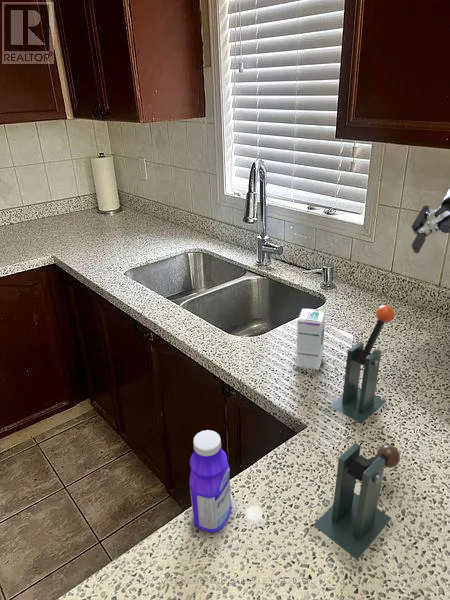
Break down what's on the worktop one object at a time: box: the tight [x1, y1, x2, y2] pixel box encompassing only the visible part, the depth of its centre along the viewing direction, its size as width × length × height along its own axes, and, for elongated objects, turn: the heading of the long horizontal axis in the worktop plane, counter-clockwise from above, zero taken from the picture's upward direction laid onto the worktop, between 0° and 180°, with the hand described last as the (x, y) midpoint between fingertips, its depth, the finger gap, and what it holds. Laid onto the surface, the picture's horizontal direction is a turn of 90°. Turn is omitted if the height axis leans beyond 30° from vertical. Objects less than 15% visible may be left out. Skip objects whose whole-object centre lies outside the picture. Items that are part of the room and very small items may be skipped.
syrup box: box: [295, 308, 326, 371], centre depth 108 cm, size 6×6×14 cm
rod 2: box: [347, 444, 401, 482], centre depth 69 cm, size 13×4×4 cm, turn 134°
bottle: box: [188, 429, 232, 534], centre depth 70 cm, size 7×6×17 cm
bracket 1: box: [328, 341, 387, 425], centre depth 93 cm, size 10×8×15 cm
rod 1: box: [354, 304, 395, 367], centre depth 91 cm, size 13×4×4 cm
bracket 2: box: [312, 442, 392, 561], centre depth 68 cm, size 10×8×15 cm
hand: (435, 256), depth 91 cm, fingers open, 8 cm apart
